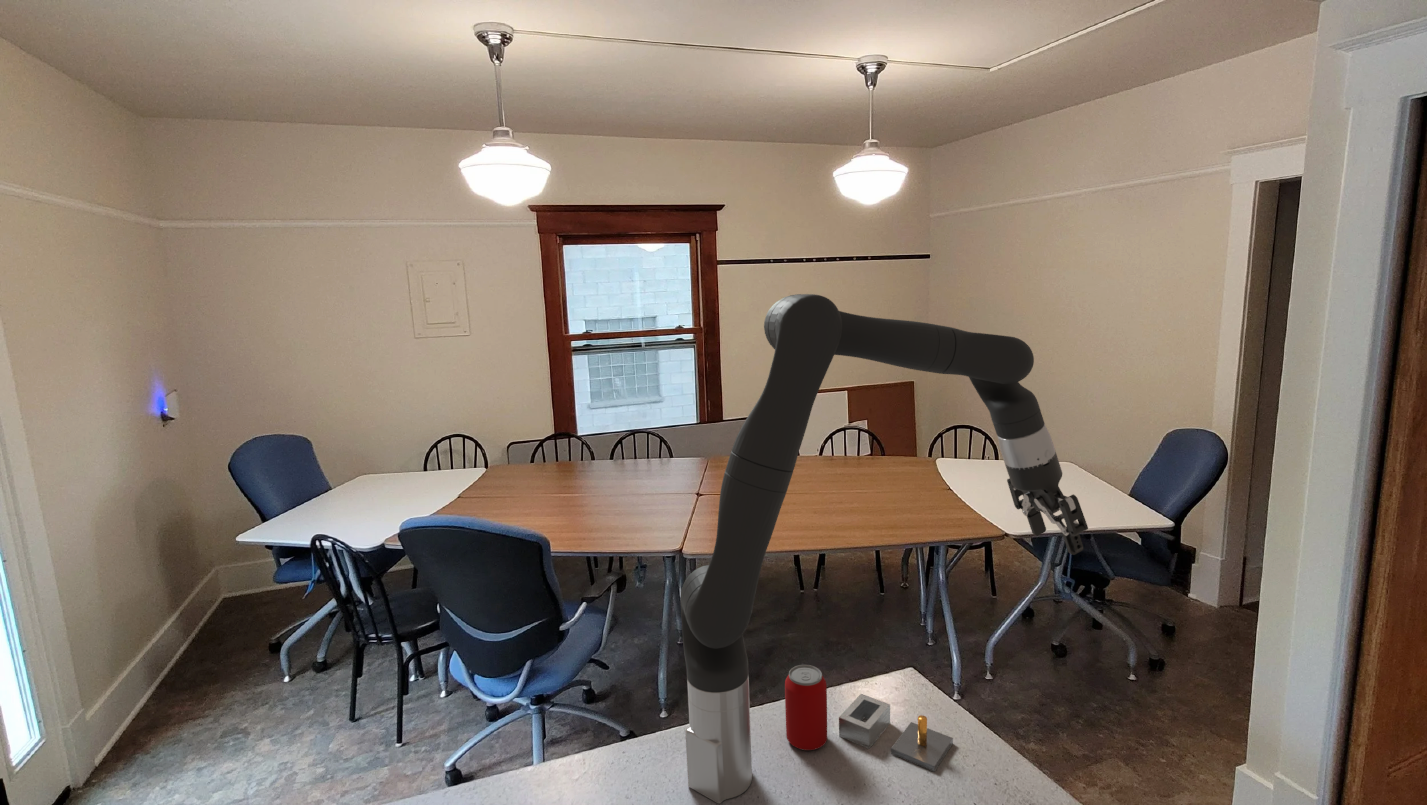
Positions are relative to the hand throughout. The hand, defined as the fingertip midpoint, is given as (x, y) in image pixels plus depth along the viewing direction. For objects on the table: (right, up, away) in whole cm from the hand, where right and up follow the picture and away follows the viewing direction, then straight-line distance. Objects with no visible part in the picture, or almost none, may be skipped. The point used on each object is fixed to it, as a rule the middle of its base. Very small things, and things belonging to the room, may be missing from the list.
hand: (1057, 542), depth 108 cm
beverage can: (-40, -34, +2) cm, 52 cm away
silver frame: (-30, -33, +4) cm, 45 cm away
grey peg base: (-22, -33, -1) cm, 40 cm away
